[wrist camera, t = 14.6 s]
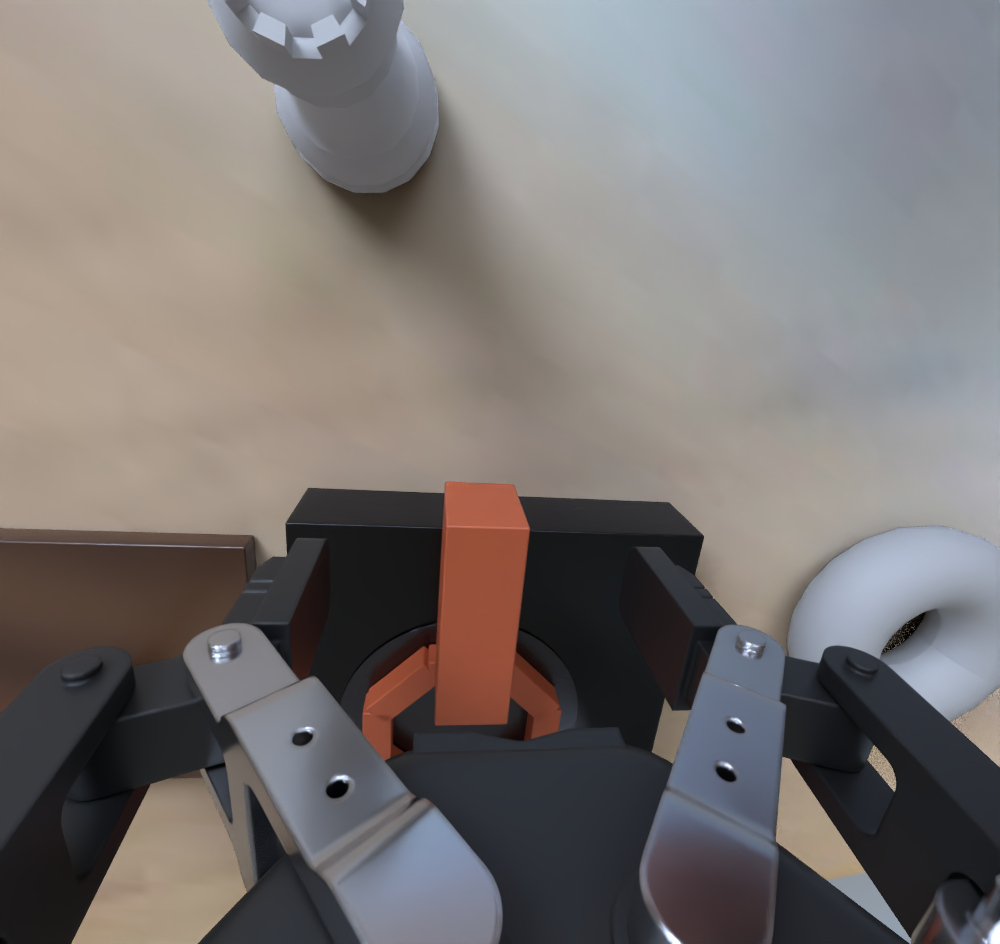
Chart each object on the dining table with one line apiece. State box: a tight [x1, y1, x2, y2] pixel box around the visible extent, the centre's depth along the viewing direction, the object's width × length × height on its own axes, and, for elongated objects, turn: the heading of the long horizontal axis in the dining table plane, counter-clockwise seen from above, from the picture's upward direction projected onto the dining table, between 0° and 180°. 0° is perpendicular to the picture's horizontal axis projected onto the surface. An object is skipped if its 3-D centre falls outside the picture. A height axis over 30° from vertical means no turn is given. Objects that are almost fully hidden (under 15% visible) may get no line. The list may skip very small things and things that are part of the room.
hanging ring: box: [362, 482, 561, 761], centre depth 17 cm, size 13×7×3 cm, turn 175°
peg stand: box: [0, 528, 256, 779], centre depth 15 cm, size 11×10×12 cm
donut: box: [786, 526, 1000, 722], centre depth 22 cm, size 10×4×10 cm
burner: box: [340, 622, 578, 752], centre depth 20 cm, size 9×9×1 cm
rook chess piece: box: [208, 0, 439, 193], centre depth 11 cm, size 4×4×8 cm
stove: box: [286, 488, 704, 753], centre depth 22 cm, size 19×16×3 cm
